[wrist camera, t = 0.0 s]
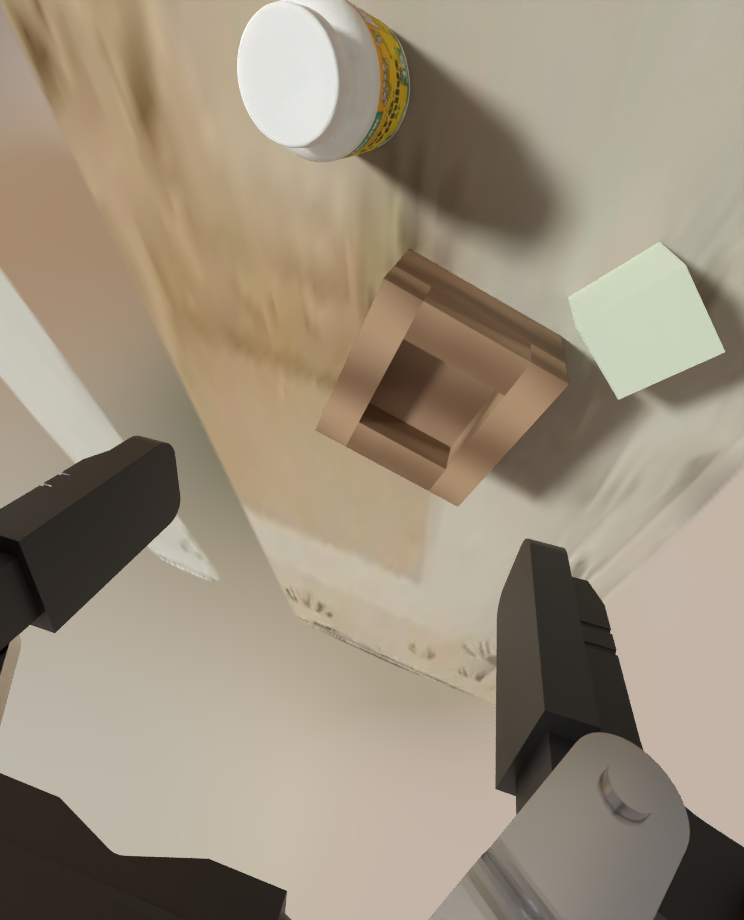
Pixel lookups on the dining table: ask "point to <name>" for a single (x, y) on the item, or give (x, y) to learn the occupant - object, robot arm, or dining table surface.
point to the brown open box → (442, 380)
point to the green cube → (644, 321)
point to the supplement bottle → (323, 78)
